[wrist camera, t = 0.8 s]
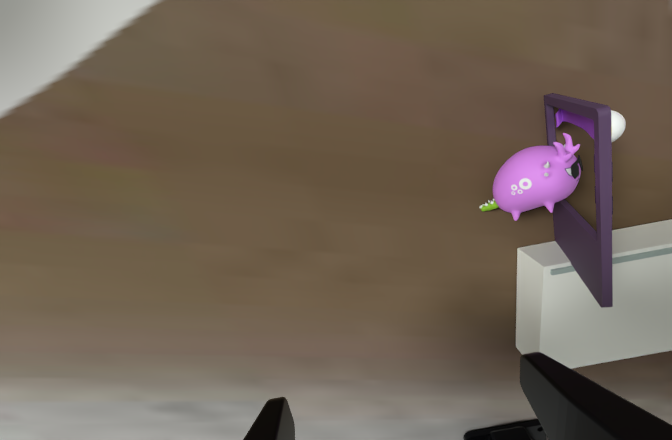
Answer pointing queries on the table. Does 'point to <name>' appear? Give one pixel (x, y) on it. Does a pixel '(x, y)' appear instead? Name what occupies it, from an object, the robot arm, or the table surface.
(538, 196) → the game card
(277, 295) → the table surface
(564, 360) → the slab
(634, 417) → the robot arm
